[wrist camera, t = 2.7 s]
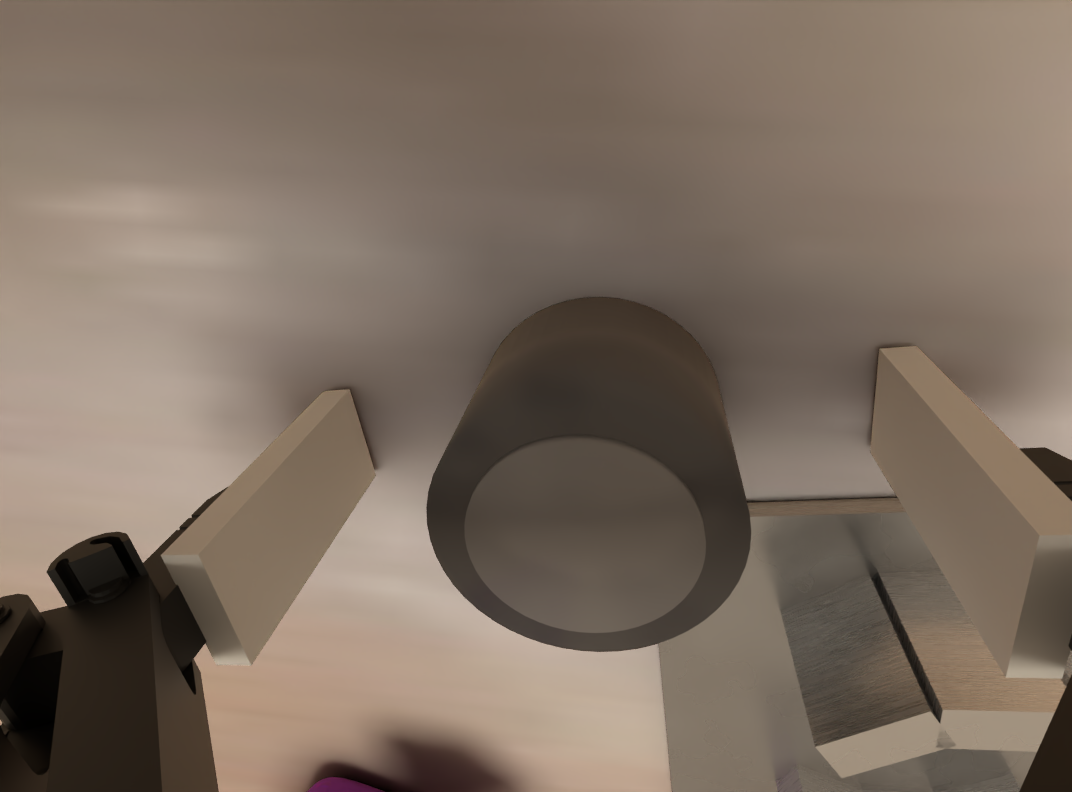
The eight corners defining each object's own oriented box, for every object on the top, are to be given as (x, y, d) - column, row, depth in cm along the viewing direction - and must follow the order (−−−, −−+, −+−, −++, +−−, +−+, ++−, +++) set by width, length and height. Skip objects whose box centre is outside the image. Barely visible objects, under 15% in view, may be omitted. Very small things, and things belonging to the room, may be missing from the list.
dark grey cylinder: (462, 309, 16) (387, 411, 11) (717, 284, 14) (752, 386, 10) (504, 509, 18) (458, 659, 14) (723, 501, 17) (753, 663, 12)
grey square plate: (647, 506, 17) (648, 640, 13) (1268, 485, 15) (1509, 645, 11) (675, 817, 23) (682, 974, 19) (1117, 844, 21) (1234, 1033, 17)
